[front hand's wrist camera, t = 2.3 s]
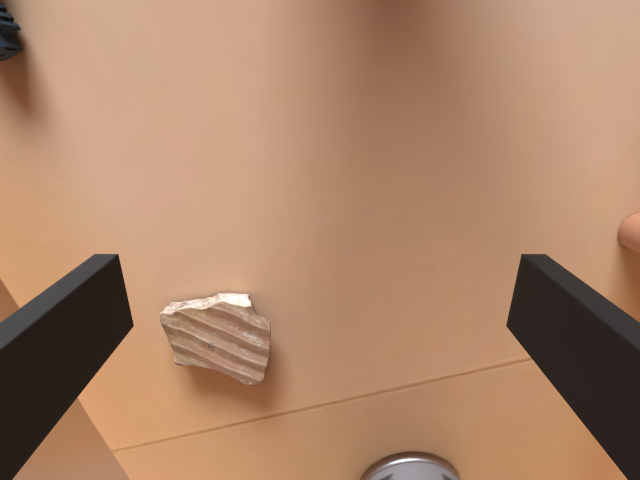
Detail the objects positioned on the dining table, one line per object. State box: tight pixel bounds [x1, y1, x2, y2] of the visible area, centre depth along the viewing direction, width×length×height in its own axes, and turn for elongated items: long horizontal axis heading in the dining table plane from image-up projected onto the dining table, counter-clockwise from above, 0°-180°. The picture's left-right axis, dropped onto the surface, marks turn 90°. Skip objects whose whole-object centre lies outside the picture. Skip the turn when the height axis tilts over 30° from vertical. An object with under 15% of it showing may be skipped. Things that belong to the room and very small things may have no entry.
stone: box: [160, 293, 271, 386], centre depth 45 cm, size 13×12×2 cm
